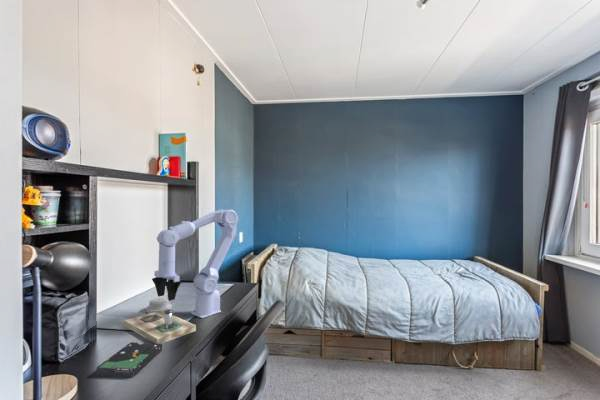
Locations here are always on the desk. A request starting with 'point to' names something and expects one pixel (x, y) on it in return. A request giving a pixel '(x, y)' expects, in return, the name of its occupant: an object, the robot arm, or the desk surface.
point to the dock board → (159, 327)
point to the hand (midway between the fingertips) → (166, 297)
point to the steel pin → (168, 319)
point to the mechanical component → (158, 305)
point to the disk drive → (129, 360)
